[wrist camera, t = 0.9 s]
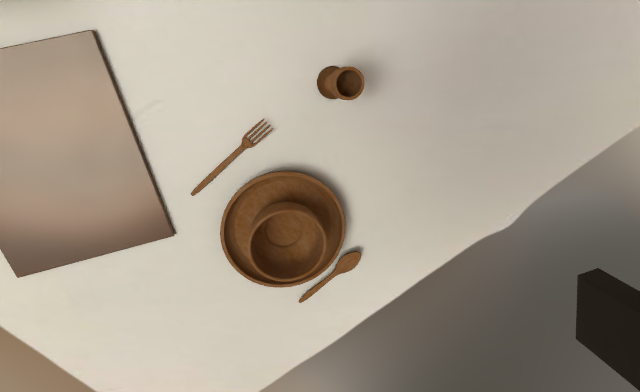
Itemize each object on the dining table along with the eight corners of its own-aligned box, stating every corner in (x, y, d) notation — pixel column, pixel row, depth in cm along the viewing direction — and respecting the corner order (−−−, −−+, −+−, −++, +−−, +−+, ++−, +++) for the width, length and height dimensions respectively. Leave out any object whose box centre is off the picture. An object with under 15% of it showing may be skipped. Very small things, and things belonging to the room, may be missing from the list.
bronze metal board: (-101, 70, 26) (-107, 70, 26) (94, 30, 28) (91, 29, 27) (20, 275, 33) (17, 278, 32) (174, 233, 34) (173, 236, 34)
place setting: (169, 205, 33) (153, 231, 28) (329, 54, 32) (346, 49, 26) (296, 312, 39) (304, 350, 34) (436, 189, 38) (468, 208, 32)
